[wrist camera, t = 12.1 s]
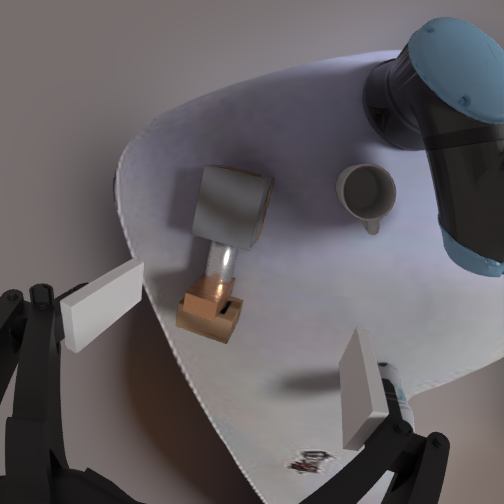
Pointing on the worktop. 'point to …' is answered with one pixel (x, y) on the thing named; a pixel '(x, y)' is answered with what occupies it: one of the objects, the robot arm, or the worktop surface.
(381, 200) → the cup
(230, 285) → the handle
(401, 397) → the bottle
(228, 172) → the sleeve and socket
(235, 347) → the worktop surface
